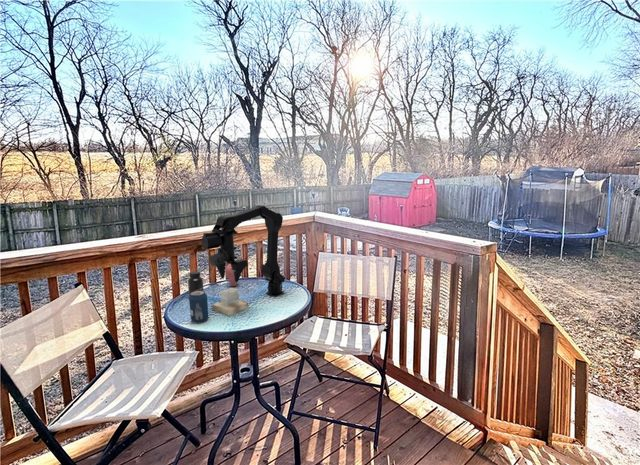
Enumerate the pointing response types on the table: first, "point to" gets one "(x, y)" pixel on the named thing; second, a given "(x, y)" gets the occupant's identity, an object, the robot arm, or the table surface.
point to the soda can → (198, 306)
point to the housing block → (229, 297)
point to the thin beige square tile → (230, 307)
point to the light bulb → (230, 275)
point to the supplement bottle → (195, 282)
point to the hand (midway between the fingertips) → (229, 280)
